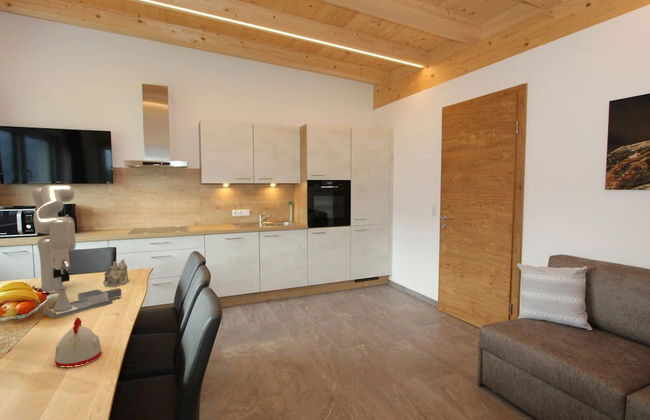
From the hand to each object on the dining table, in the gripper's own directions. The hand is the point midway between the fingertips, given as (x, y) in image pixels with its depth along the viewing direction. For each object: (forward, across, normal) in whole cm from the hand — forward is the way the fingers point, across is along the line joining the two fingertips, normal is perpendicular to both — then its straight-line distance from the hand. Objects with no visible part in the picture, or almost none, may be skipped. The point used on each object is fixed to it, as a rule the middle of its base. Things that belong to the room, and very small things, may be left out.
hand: (61, 279), depth 171 cm
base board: (+16, +1, +7) cm, 18 cm away
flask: (+15, +1, 0) cm, 15 cm away
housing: (+15, +1, +17) cm, 23 cm away
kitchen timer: (+15, +57, -14) cm, 61 cm away
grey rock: (+17, -29, +37) cm, 50 cm away
